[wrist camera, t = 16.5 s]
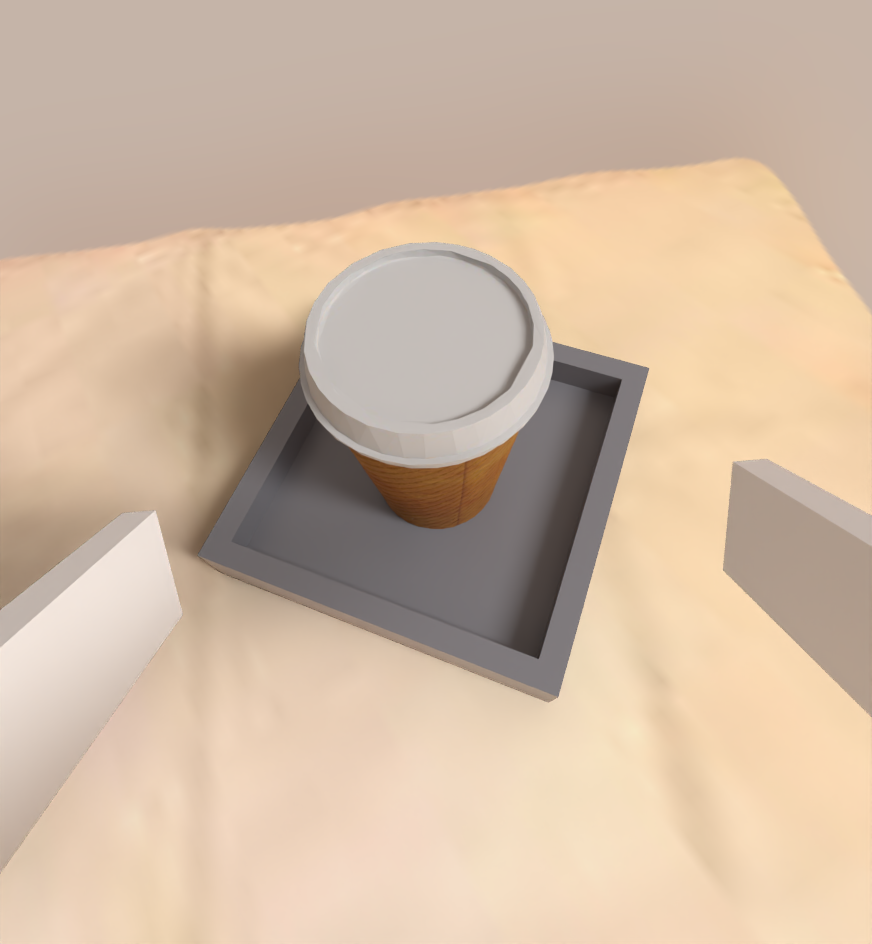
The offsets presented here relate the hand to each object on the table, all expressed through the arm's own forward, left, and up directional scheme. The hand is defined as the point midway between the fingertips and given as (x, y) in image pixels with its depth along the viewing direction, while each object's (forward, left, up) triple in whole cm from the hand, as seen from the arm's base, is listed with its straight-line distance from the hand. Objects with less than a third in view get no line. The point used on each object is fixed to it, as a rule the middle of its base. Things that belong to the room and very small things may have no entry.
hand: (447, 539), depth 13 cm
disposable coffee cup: (-4, +8, -16) cm, 18 cm away
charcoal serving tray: (-4, +8, -17) cm, 19 cm away
